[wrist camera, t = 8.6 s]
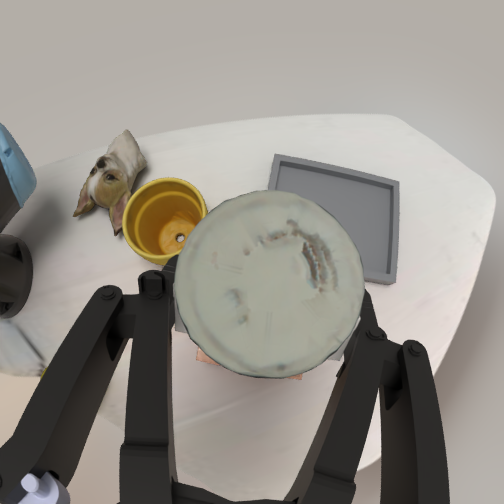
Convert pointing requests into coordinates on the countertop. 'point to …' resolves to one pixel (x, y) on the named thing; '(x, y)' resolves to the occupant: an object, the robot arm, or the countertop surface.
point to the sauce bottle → (269, 284)
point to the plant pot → (162, 218)
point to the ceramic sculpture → (113, 179)
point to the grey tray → (349, 207)
